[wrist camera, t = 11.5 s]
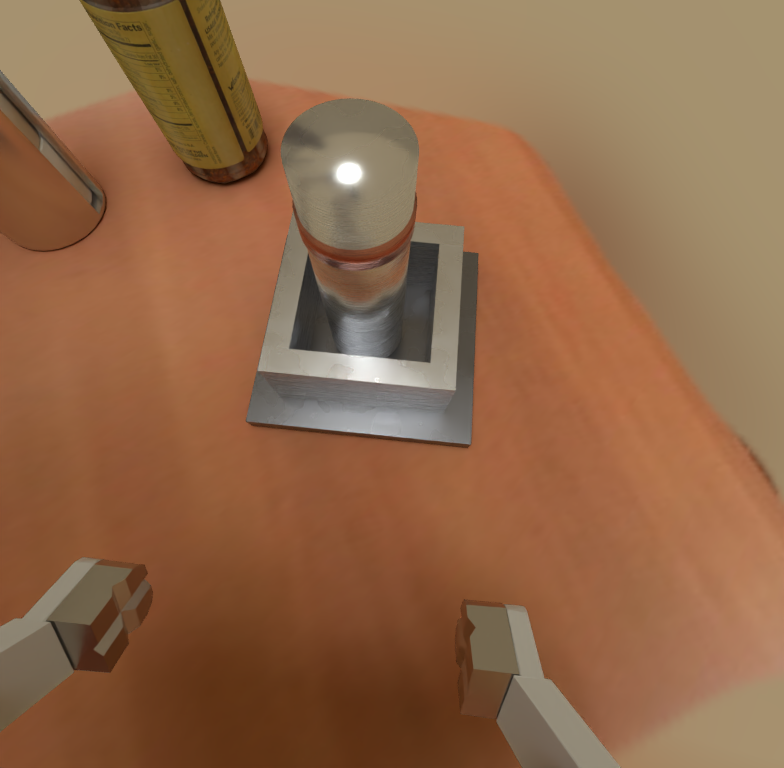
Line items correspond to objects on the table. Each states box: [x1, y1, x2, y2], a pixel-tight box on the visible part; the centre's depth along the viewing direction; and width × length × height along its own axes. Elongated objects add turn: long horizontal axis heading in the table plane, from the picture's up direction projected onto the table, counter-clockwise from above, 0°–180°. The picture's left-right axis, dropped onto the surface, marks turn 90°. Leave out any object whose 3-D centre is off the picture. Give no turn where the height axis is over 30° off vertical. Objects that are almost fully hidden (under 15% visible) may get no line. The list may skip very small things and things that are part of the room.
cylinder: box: [281, 99, 419, 358], centre depth 17 cm, size 4×4×12 cm
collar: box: [246, 212, 478, 448], centre depth 22 cm, size 12×12×5 cm
